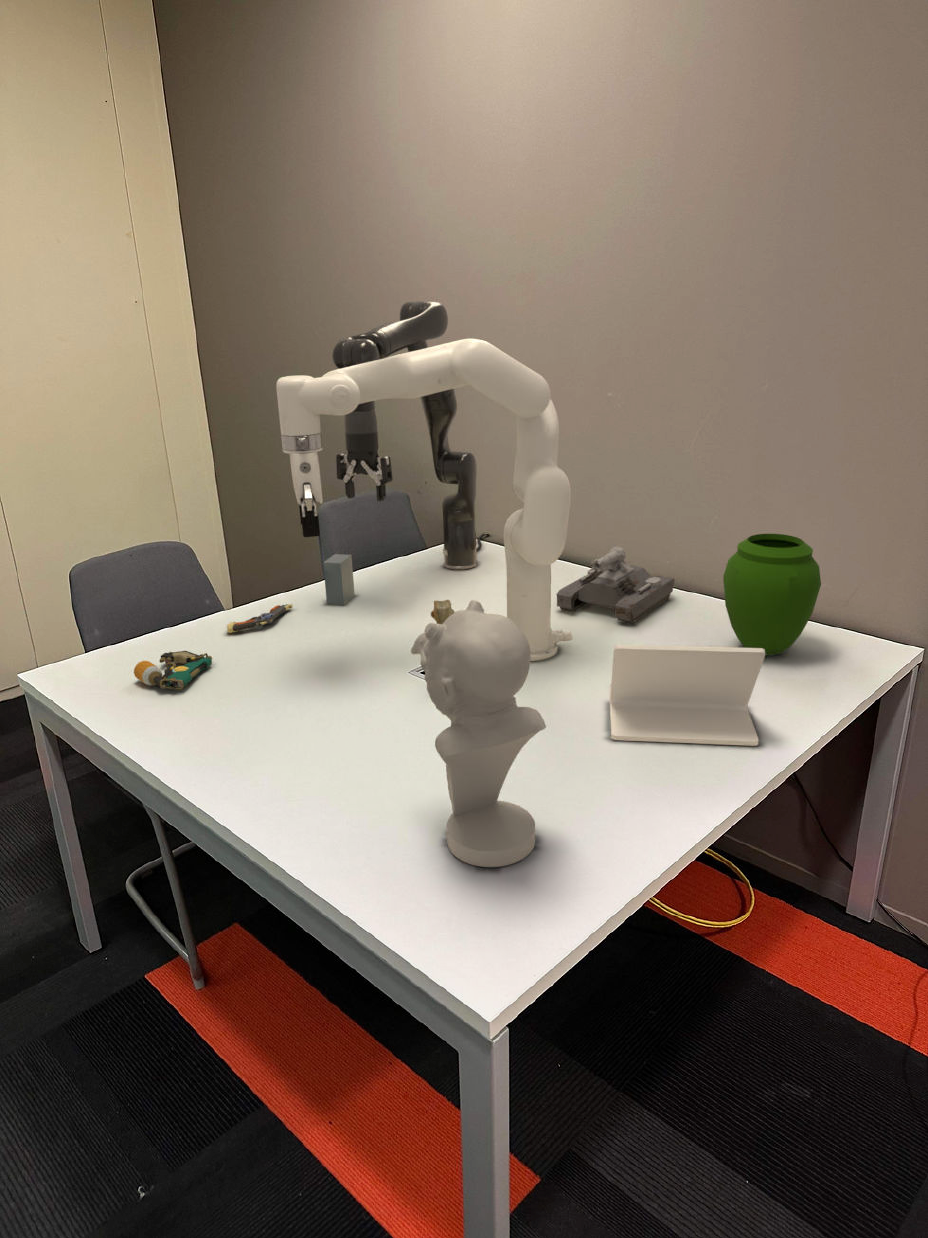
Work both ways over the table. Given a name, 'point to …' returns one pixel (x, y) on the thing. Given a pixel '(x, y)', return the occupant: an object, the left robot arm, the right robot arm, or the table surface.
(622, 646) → the tablet stand
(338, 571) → the brick
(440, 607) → the sculpture
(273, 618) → the toy gun
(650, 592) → the toy
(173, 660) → the green toy blaster
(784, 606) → the vase
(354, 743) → the table surface
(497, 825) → the bust sculpture
